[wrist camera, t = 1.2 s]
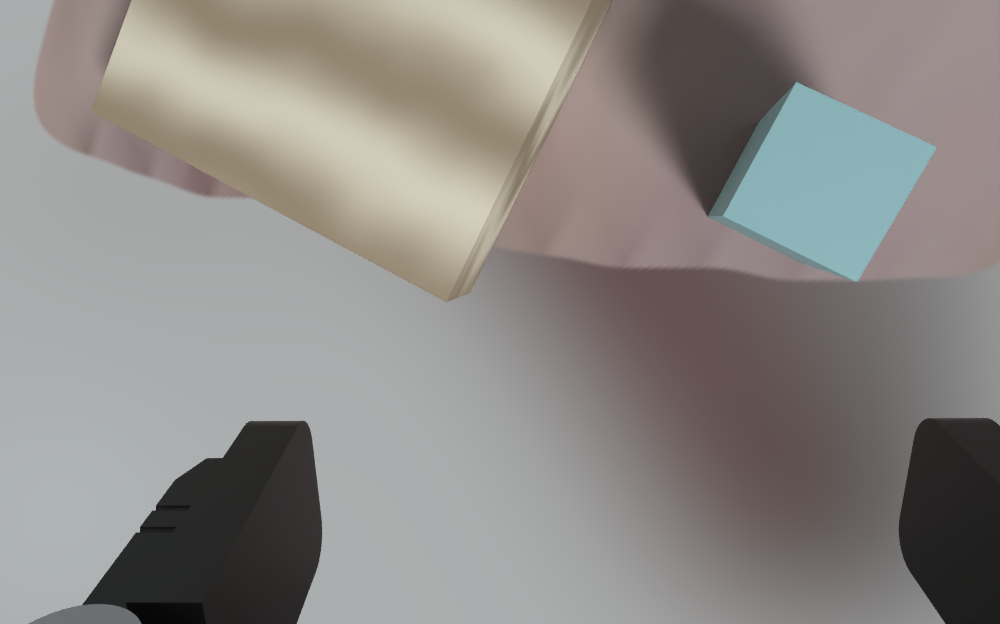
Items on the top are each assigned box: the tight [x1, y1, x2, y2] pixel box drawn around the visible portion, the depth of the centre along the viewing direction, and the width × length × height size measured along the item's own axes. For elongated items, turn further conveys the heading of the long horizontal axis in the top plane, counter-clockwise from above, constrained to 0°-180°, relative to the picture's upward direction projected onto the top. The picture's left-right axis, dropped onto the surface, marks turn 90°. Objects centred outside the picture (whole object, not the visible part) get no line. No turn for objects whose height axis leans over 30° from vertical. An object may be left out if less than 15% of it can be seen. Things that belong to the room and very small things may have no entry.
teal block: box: [708, 82, 937, 282], centre depth 29 cm, size 4×4×10 cm
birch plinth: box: [91, 0, 612, 302], centre depth 35 cm, size 14×18×4 cm
